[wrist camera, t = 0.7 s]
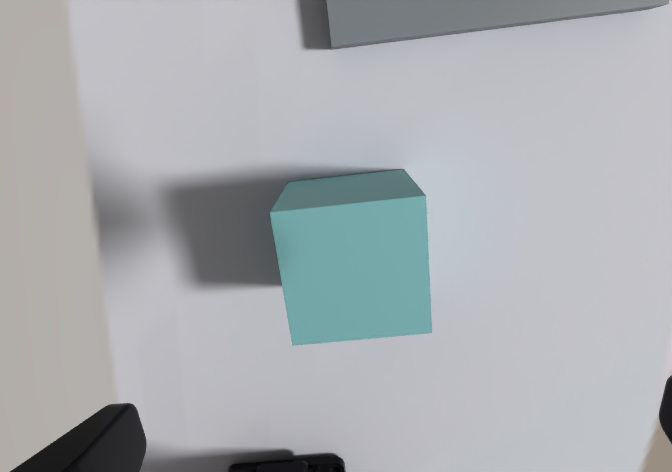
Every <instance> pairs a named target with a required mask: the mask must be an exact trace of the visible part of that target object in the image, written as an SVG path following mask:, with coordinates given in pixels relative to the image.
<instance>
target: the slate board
mask: <svg viewBox="0 0 672 472" xmlns="http://www.w3.org/2000/svg"><path fill="white" fill-rule="evenodd" d="M326 1H327V10H328V19H329V29H330V38H331V47H332V49H340V48H348V47H356V46H364V45H372V44H379V43H387V42H395V41H403V40H411V39H419V38H427V37H435V36H443V35H451V34H459V33H467V32H474V31H482V30H490V29H498V28H506V27H514V26H522V25H530V24H538V23H546V22H554V21H561V20H569V19H577V18H585V17H593V16H601V15H609V14H617V13H625V12H633V11H641V10H648V9H652V8H656V7H659V6H663V5H666V4H668V3H669V0H326Z"/></svg>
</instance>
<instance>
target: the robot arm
mask: <svg viewBox="0 0 672 472" xmlns="http://www.w3.org/2000/svg"><path fill="white" fill-rule="evenodd" d="M659 420H660V424H661V426H662V428H663V430H664V432H665V434H666V435H667V437H668V439H669V440H670V442H671V444H672V376H670V377H669V378H668V379H667V382H666V385H665V390H664V394H663V398H662V402H661V406H660V410H659ZM145 452H146V437H145V433H144V430H143V427H142V424H141V421H140V418H139V414H138V411H137V409H136V407H135V406H134V405H133V404H130V403H122V404H110V405H108V406H105V407H104V408H102V409H101V410H100V411H98V412H97V413H95V414H94V415H92V416H91V417H89V418H88V419H86V420H85V421H83V422H82V423H81V424H79V425H78V426H76V427H75V428H73V429H72V430H70V431H69V432H67V433H66V434H65V435H63V436H62V437H60V438H59V439H57V440H56V441H54V442H53V443H51V444H50V445H48V446H47V447H46V448H44V449H43V450H41V451H40V452H38V453H37V454H35V455H34V456H32V457H31V458H29V459H28V460H27V461H25V462H24V463H22V464H21V465H19V466H18V467H16V468H15V469H13V470H12V471H10V472H139V471H140V468H141V465H142V462H143V459H144V456H145ZM333 466H337V467H333ZM228 472H346V471H345V464H344V461H343V460H342V459H341V458H339V457H322V458H309V459H296V460H283V461H270V462H257V463H244V464H234V465H231V466H230V467H229V469H228Z"/></svg>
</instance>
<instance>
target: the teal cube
mask: <svg viewBox="0 0 672 472" xmlns="http://www.w3.org/2000/svg"><path fill="white" fill-rule="evenodd" d="M270 218H271V223H272V229H273V235H274V241H275V247H276V252H277V258H278V264H279V270H280V276H281V282H282V287H283V293H284V299H285V305H286V311H287V316H288V322H289V328H290V334H291V340H292V345H304V344H315V343H326V342H337V341H348V340H359V339H370V338H381V337H392V336H403V335H414V334H425V333H432V320H431V298H430V276H429V254H428V232H427V210H426V195H425V194H424V193H423V192H422V190H421V189H420V188H419V187H418V186H417V184H416V183H415V182H414V181H413V180H412V178H411V177H410V176H409V175H408V174H407V172H406V171H405V170H404V169H400V170H391V171H382V172H373V173H364V174H355V175H346V176H337V177H327V178H318V179H309V180H300V181H291V182H288V183H287V185H286V186H285V188H284V190H283V191H282V193H281V195H280V196H279V198H278V200H277V201H276V203H275V204H274V206H273V208H272V209H271V211H270Z"/></svg>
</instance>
